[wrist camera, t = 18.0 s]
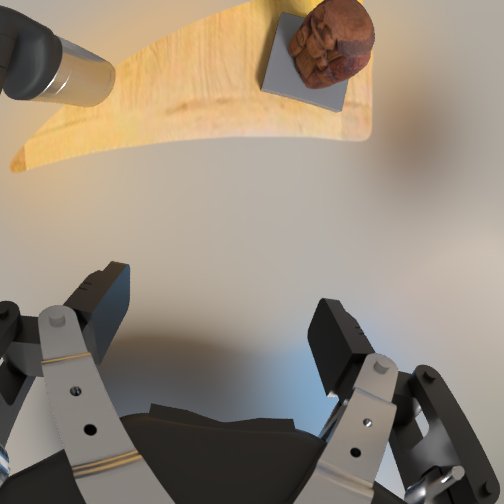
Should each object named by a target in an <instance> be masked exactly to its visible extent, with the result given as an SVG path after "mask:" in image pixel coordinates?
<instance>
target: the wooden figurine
mask: <svg viewBox="0 0 504 504" xmlns="http://www.w3.org/2000/svg"><path fill="white" fill-rule="evenodd" d="M374 41H375V33H374V27H373V23H372V20H371V19H370V17H369V14H368V13H367V11H366V10H365V8H364V7H363V6H362V5H361V4H360V3H359V2H358V1H357V0H324V1H323V2H322V3H320V4H318V5H317V7H316V8H314V9H313V11H311V12H310V13H309V14H308V15H307V17H306V18H305V20H304V21H303V23H302V24H301V26H300V27H299V29H298V30H297V31H296V33H295V34H294V35H293V37H292V39H291V41H290V43H289V47H288V51H289V55H290V56H291V57H293V58H294V64H295V68H296V71H297V73H298V74H300V76H301V79H302V81H303V83H304V84H305V86H306V87H307V88H310V89H322V88H325V87H329V86H331V85H334V84H336V83H339V82H342V81H344V80H347V79H349V78H351V77H352V76H354V75H355V74H357V73H358V72H359V71H360V70H361V69H363V68H364V67H365V66H366V65H367V63H368V61H369V59H370V54H371V50H372V47H373V44H374Z"/></svg>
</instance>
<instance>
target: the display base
mask: <svg viewBox="0 0 504 504" xmlns="http://www.w3.org/2000/svg"><path fill="white" fill-rule="evenodd" d="M304 20H305V18H303V17H299V16H295V15H292V14H288V13H284V12H282V13H281V16H280V19H279V22H278V26H277V30H276V33H275V37H274V41H273V45H272V49H271V53H270V56H269V60H268V64H267V68H266V72H265V76H264V80H263V84H262V88H261V91H263V92H267V93H271V94H275V95H279V96H283V97H287V98H291V99H294V100H298V101H301V102H305V103H308V104H312V105H315V106H318V107H321V108H324V109H327V110H330V111H333V112H341V111H342V107H343V103H344V98H345V94H346V89H347V84H348V79H347V80H344V81H342V82H339V83H336V84H334V85H331V86H329V87H325V88H322V89H310V88H307V87H306V86H305V84H304V83H303V81H302V79H301V76H300V74H298V73H297V71H296V68H295V64H294V58H293V57H291V56H290V55H289V51H288V47H289V43H290V41H291V39H292V37H293V35H294V34H295V33H296V31H297V30H298V29H299V27H300V26H301V24H302V23H303V21H304Z"/></svg>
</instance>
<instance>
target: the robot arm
mask: <svg viewBox="0 0 504 504" xmlns="http://www.w3.org/2000/svg"><path fill="white" fill-rule="evenodd" d="M114 82H115V71H114V68H113V66H112V65H111V64H110V63H109V62H108V61H106V60H104V59H102V58H100V57H99V56H97V55H95V54H93V53H91V52H89V51H87V50H85V49H84V48H81V47H80V46H78V45H75V44H73V43H71V42H69V41H67V40H65V39H63V38H60V37H58V36H56V35H54V34H53V32H52V31H51V30H50V29H49V28H47V27H46V26H44V25H42V24H40V23H38V22H36V21H34V20H32V19H31V18H29V17H27V16H25V15H24V14H22V13H20V12H18V11H15V10H13V9H11V8H7V7H4V6H0V94H1V91H2V88H3V90H4V92H5V94H6V95H7V96H8V97H10V98H12V99H15V100H28V101H42V102H52V103H60V104H68V105H75V106H82V107H91V106H95V105H97V104H99V103H100V102H102V101H103V100H104V99H105V98H106V97H107V96H108V95H109V93H110V92H111V90H112V88H113V85H114ZM129 301H130V266H129V264H124V263H119V262H114V261H111V262H110V264H109V265H108V266H107V267H106V268H105V269H104V270H103V271H100V270H98V271H96V272H94V273H92V274H90V275H89V276H88V277H87V278H86V279H85V280H84V281H83V283H81V284H80V286H79V287H78V288H77V289H76V290H75V291H74V293H73V294H72V295H71V296H70V297H69V298H68V300H67V301H66V302H65V303H64V304H63V305H55V306H51V307H48V308H46V309H44V310H43V311H42V312H41V313H40V314H39V317H32V316H21V315H20V310H19V307H18V305H17V304H15V303H14V302H11V301H1V302H0V359H1V357H2V358H3V360H4V361H3V363H2V364H1V366H0V504H494V503H495V502H496V501H497V500H498V498H499V494H500V486H499V482H498V480H497V478H496V475H495V473H494V471H493V469H492V467H491V464H490V462H489V460H488V458H487V456H486V454H485V452H484V450H483V448H482V446H481V444H480V442H479V440H478V439H477V437H476V435H475V433H474V431H473V429H472V427H471V425H470V424H469V422H468V420H467V418H466V416H465V415H464V413H463V411H462V410H461V408H460V406H459V404H458V403H457V401H456V399H455V398H454V396H453V394H452V393H451V391H450V390H449V388H448V386H447V385H446V383H445V381H444V380H443V378H442V377H441V375H440V374H439V373H438V372H437V371H436V370H435V369H433V368H432V367H430V366H427V365H419V366H417V367H416V369H415V370H414V371H413V373H412V374H409V373H405V372H400V371H398V368H397V366H396V364H395V363H394V362H393V361H392V360H391V359H390V358H388V357H386V356H384V355H382V354H377V353H375V351H374V349H373V347H372V346H371V344H370V343H369V341H368V339H367V337H366V336H365V335H364V332H363V331H362V329H360V326H359V324H358V322H357V321H356V319H355V318H353V317H352V316H351V315H350V314H349V313H348V312H346V311H345V309H344V308H343V306H342V304H341V303H340V301H339V300H333V299H326V298H322V299H321V300H320V301H319V303H318V306H317V308H316V311H315V313H314V316H313V318H312V321H311V323H310V326H309V329H308V342H309V345H310V348H311V351H312V354H313V357H314V360H315V363H316V365H317V369H318V372H319V375H320V378H321V381H322V384H323V387H324V390H325V393H326V396H327V397H338V398H339V401H338V403H337V404H336V406H335V407H334V409H333V411H332V413H331V415H330V417H329V418H328V420H327V422H326V424H325V425H324V427H323V429H322V430H321V432H320V434H319V435H318V437H316V436H315V435H313V434H310V433H308V432H305V431H302V430H299V429H295V426H294V422H293V419H271V418H257V419H250V420H243V421H235V422H227V423H226V422H219V421H216V420H213V419H210V418H207V417H204V416H201V415H198V414H196V413H193V412H190V411H188V410H183V409H177V408H172V407H166V406H161V405H157V404H151V407H150V411H149V413H138V414H131V415H126V416H123V417H120V418H119V417H118V416H117V413H116V411H115V409H114V407H113V405H112V403H111V401H110V399H109V396H108V394H107V392H106V390H105V388H104V385H103V383H102V381H101V378H100V376H99V373H98V371H97V368H96V366H95V364H97V365H100V364H101V362H102V360H103V358H104V356H105V354H106V351H107V350H108V348H109V346H110V343H111V341H112V339H113V337H114V336H115V334H116V332H117V330H118V328H119V326H120V324H121V322H122V320H123V318H124V316H125V314H126V312H127V310H128V306H129ZM36 376H38V377H44V380H45V385H46V389H47V393H48V397H49V401H50V405H51V409H52V412H53V416H54V419H55V423H56V426H57V429H58V432H59V435H60V438H61V441H62V444H63V446H64V449H63V450H61V451H59V452H57V453H55V454H53V455H51V456H50V457H48V458H46V459H44V460H42V461H40V462H38V463H36V464H34V465H32V466H30V467H28V468H26V469H24V470H22V471H20V472H18V473H16V474H13V475H12V476H10V477H9V473H10V468H9V457H8V454H7V451H6V450H5V445H6V443H7V440H8V437H9V435H10V432H11V430H12V427H13V425H14V422H15V420H16V418H17V415H18V413H19V411H20V409H21V406H22V404H23V402H24V400H25V398H26V395H27V393H28V392H29V390H30V387H31V386H32V384H33V382H34V380H35V378H36ZM421 411H423V413H424V415H425V417H426V419H427V421H428V424H429V431H428V433H427V435H426V436H425V437H424V438H423V436H422V433H421V431H420V429H419V427H418V424H417V422H416V420H415V417H416V416H417V415H418V414H419V413H420V412H421ZM388 441H389V444H390V447H391V449H392V452H393V455H394V458H395V461H396V464H397V467H398V470H399V473H400V476H401V479H402V482H403V485H404V488H405V496H404V500H402V499H401V498H399V497H398V496H396V495H395V494H393V493H392V492H390V491H389V490H387V489H386V488H385V487H383V486H382V485H380V484H379V483H377V482H376V481H375V477H376V475H377V472H378V469H379V466H380V463H381V461H382V458H383V454H384V452H385V448H386V445H387V442H388Z"/></svg>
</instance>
